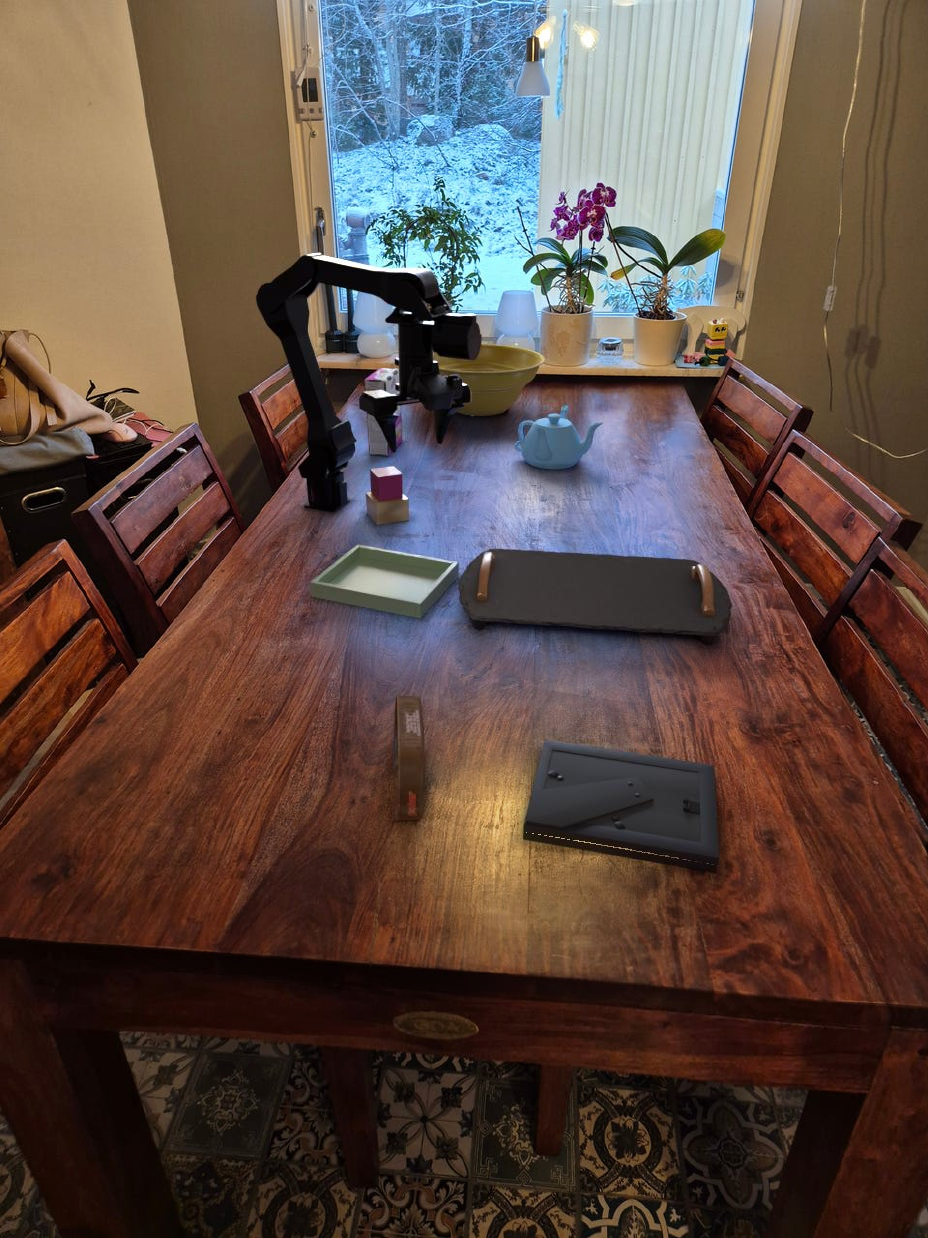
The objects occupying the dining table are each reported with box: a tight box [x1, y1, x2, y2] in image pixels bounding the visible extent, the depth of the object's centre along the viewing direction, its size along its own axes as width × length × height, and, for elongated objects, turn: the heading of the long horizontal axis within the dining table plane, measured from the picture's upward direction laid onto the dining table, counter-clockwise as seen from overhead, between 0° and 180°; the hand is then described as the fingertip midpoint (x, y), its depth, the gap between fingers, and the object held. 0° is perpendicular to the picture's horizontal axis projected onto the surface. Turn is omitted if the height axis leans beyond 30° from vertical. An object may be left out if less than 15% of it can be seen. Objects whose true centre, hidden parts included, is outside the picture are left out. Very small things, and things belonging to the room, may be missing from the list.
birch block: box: [365, 491, 410, 526], centre depth 146 cm, size 6×6×4 cm
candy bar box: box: [364, 367, 403, 457], centre depth 178 cm, size 11×5×16 cm, turn 168°
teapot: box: [514, 404, 604, 470], centre depth 173 cm, size 15×15×10 cm
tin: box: [392, 694, 426, 822], centre depth 82 cm, size 15×3×8 cm, turn 5°
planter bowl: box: [434, 343, 545, 417], centre depth 208 cm, size 32×32×13 cm
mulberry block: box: [369, 465, 404, 501], centre depth 144 cm, size 4×4×4 cm
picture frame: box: [522, 739, 720, 874], centre depth 81 cm, size 13×2×18 cm
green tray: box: [309, 544, 460, 620], centre depth 123 cm, size 18×15×2 cm
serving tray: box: [457, 548, 733, 646], centre depth 117 cm, size 39×23×6 cm, turn 83°
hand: (416, 447), depth 139 cm, fingers open, 9 cm apart
